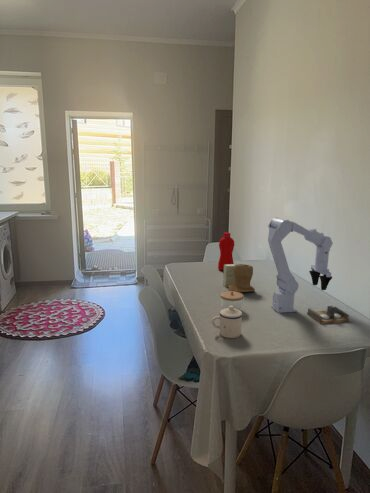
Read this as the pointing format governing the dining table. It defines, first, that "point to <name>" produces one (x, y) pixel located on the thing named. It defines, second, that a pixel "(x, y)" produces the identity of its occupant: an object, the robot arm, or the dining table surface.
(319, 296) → the dining table surface
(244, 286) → the brown boot
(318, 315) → the stand
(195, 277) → the dining table surface
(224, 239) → the red bottle
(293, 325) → the dining table surface
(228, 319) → the teacup with lid
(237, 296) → the lidded jar
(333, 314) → the spectacles
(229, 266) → the skincare box
